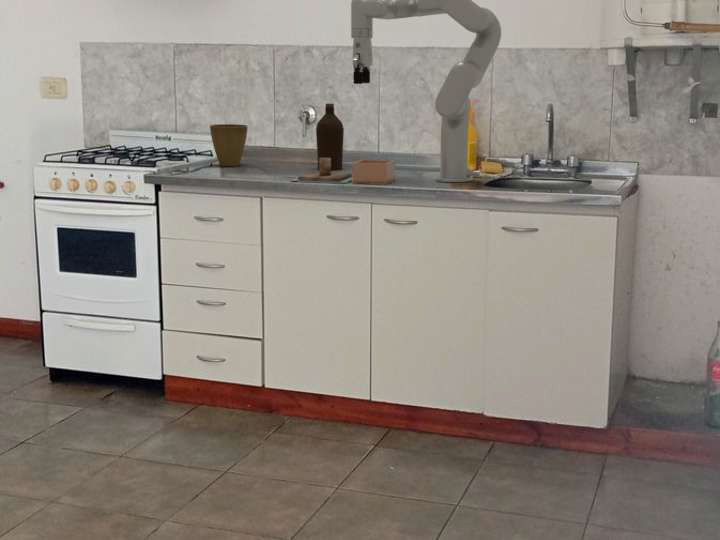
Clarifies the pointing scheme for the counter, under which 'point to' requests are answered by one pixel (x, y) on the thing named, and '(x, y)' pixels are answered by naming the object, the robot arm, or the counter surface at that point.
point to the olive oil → (330, 138)
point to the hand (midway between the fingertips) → (361, 83)
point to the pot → (374, 171)
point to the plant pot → (229, 142)
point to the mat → (326, 181)
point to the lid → (325, 173)
